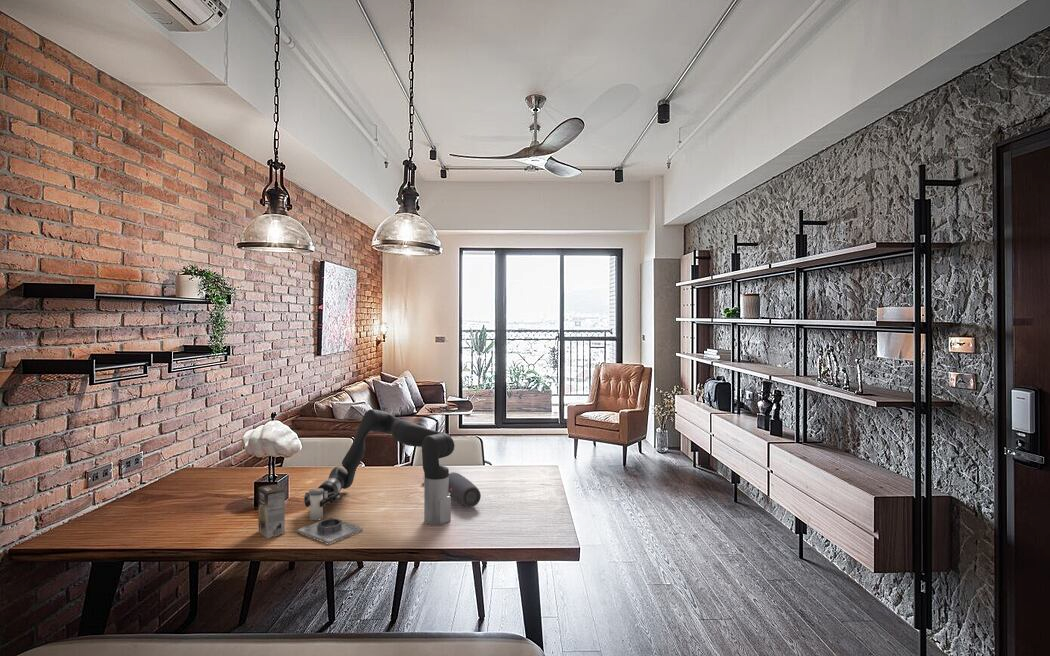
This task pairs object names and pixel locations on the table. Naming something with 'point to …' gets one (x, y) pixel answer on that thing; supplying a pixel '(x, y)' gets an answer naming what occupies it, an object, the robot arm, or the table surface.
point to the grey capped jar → (316, 503)
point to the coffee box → (271, 510)
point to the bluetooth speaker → (463, 490)
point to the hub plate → (334, 535)
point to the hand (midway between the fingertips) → (313, 504)
